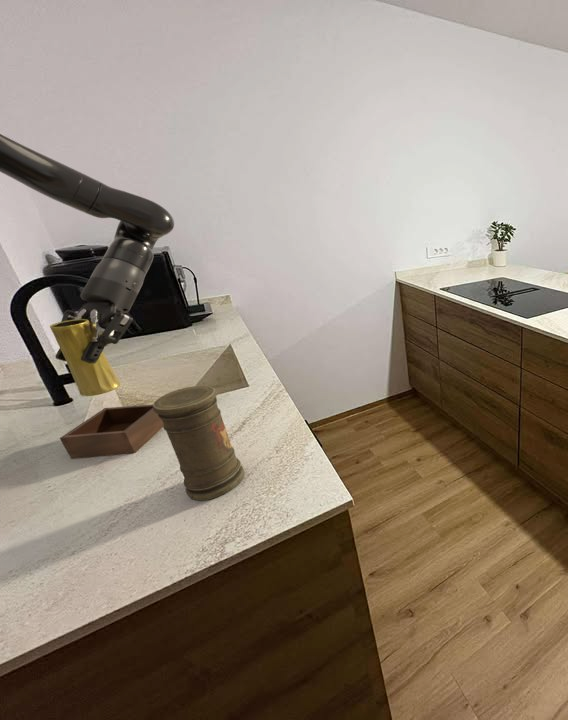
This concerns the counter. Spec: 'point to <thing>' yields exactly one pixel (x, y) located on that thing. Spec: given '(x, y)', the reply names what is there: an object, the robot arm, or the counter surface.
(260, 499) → the counter surface
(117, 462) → the counter surface
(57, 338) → the vase
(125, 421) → the tray
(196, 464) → the container
